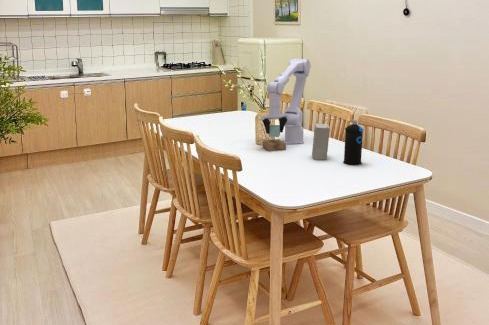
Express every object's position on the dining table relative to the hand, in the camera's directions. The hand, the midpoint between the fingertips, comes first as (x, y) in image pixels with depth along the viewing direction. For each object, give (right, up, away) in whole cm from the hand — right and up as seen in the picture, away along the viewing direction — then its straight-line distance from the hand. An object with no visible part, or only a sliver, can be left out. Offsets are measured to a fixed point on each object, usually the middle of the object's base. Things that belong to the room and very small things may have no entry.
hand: (274, 132), depth 264 cm
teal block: (0, -1, 0) cm, 1 cm away
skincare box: (+21, -13, -15) cm, 29 cm away
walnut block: (0, -8, +2) cm, 8 cm away
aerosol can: (+34, -15, -23) cm, 44 cm away
